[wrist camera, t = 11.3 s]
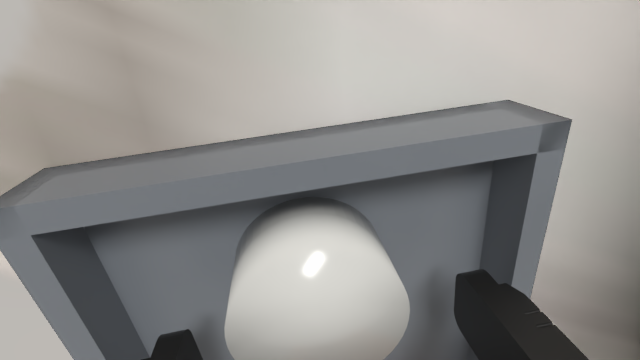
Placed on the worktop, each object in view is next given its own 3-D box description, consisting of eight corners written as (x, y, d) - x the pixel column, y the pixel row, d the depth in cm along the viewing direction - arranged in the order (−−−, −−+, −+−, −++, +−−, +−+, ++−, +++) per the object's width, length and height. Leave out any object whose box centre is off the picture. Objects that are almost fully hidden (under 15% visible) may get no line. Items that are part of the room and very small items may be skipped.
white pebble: (218, 210, 10) (202, 272, 8) (377, 185, 10) (411, 236, 8) (251, 324, 12) (246, 402, 10) (381, 300, 13) (408, 368, 10)
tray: (44, 168, 10) (-26, 211, 7) (508, 99, 11) (572, 119, 8) (197, 460, 17) (186, 527, 14) (465, 400, 18) (493, 454, 16)
